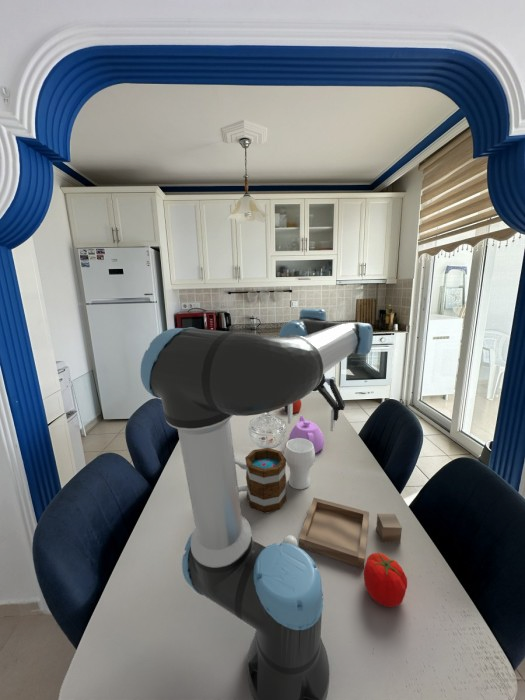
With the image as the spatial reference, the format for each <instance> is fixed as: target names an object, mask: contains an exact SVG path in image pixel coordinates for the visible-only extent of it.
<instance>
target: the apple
mask: <svg viewBox="0 0 525 700" xmlns="http://www.w3.org/2000/svg"><path fill="white" fill-rule="evenodd" d="M301 408H302V401H301V399H300V400H298V401H296V402H294V403H293V414H297V413H300V412H301Z"/></svg>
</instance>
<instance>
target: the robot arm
mask: <svg viewBox="0 0 525 700" xmlns="http://www.w3.org/2000/svg"><path fill="white" fill-rule="evenodd" d="M373 331H374V330H373V326H372V324H370V323H366V322H365V323H364V322H358V321H357V322H346V321H330V320H327V312H326V310H325V309H323V308H304V309H301V310H300V312H299V318H298V319H294V320H290V321H289V322H287V323H285V324H284V325H283V326H282V327H281V328H280V331H279V336H274V335H265V334H263V335H262V334H257V333H256V334H255V333H251V332H250V333H249V332H243V331H242V332H238V331H237V332H236V331H225V330H224V331H223V330H216V329H215V330H214V329H213V330H212V329H201V328H197V327H194V326H193V327H192V326H190V327H186V328H185V327H184V328H183V327H181V328H179V327H175V328H170V329H169V328H168V329H167V330H165V331H162V332H160V333H159V334H158V335H156V336H155V337H154V338H153V340H151V342H150V343H149V346H148V348H147V349H146V350H145V352H143V353H144V354H143V357H142V359H141V362H140V363H141V364H140V371H139V372H140V379H141V383H142V385H143V387H144V389H145V390H146V392H148V393H149V394H150V395H151V396H152V397H155V398H158V399H160V400H161V404H162V409H163V413H164V419H165V421H166V423H167V424H168V425H169V426H170V427H171V428H174V429H177V432H178V438H179V443H180V448H181V449H180V450H181V455H182V460H183V464H184V465H183V467H184V470H185V476H186V482H187V488H188V493H189V497H190V498H189V499H190V503H191V510H192V514H193V519H194V525H195V528H194V530H193V531H192V533H191V534H190V536H189V537H188V539H187V541H186V544H185V547H184V551H185V553H184V554H183V555H182V561H181V568H182V575H183V577H184V579H185V581H186V583H187V584H188V585H189V586H190V587H191V589H193V590H194V591H195V592H196V593H197V594H199V595H201V596H204V597H205V598H207V599H209V600H210V601H212V602H213V603H215V604H216V605H218V606H220V608H222V609H224V610H226V611H227V612H229V613H231V614H232V615H234V616H235V617H237V618H238V619H240V620H242V621H243V622H245V624H247V625H249V626H250V627H252V628H253V629H255V633H254V635H253V638H252V640H251V642H250V646H249V651H248V655H247V656H248V657H247V678H248V684H249V689H250V692H251V695H252V697H253V700H326V699H327V696H328V692H329V685H330V663H329V658H328V657H329V656H328V653H327V650H326V646H325V645H324V642H323V639H322V615H323V614H322V613H323V607H324V597H323V596H324V594H323V593H324V592H323V585H322V577H321V574H320V571H319V570H318V566H317V564H316V563H315V561H314V560H313V558H312V557H311V556H310V555H309V554H308V553H307V552H306V550H305V549H303V548H300V547H299V546H298V547H297V546H295V545H293V544H289V543H282V542H281V543H279V544H277V543H272V544H269V545H268V546H264V545H262V544H261V543H259V542H257V541H254V540H253V536H252V528H251V525H250V523H249V521H248V520H247V518H246V517H245V516H243V515H242V511H241V510H242V509H241V501H240V492H239V491H238V487H239V484H238V476H237V469H236V464H235V459H236V458H235V450H234V443H233V436H232V435H233V434H232V427H231V418H233V417H234V416H237V417H239V416H241V417H246V416H256V415H261V414H262V415H263V414H266V413H271V412H273V411H277V410H280V409H283V408H284V412H285V413H287V424H288V425H289V424H291V423H292V422H293V420H294V419H293V414H294V413H293V403H294V402H296V401H298V400H301V399H303V398H305V397H306V396H307V395H309V394H311V393H312V392H318V393H319V394H320V395H321V396H322V397H323V398H324V399H325V401H326V402H327V403H328V405H329V406H330V408H331V410H330V428H329V429H330V432H333V431H334V429H335V425H336V423H335V421H336V422H337V421H338V420H339V414H340V413H339V411H344V410H345V407H346V404H345V402H344V400H343V397H342V395H341V392H340V391H339V388H338V386H337V384H336V378H335V376H332V377H326V376H325V374H326V373H327V372H329V371H330V370H331V369H333V368H334V367H335V366H336V365H338V364H339V363H340V362H342V361H343V360H345V359H346V358H347V357H349V356H350V355H351V354H353V355H354V354H355V355H357V356H358V355H368V354H369V353H370V352H371V350H372V346H373V340H374V339H373V338H374V332H373ZM325 383H326V384H327V385H328V386H329V387H330V390H331V393H332V394H333V396H334V397H333V396H332V395H331V394H330V392H329V391H328V390H327V388H326V386H325V385H324V384H325Z"/></svg>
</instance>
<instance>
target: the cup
mask: <svg viewBox="0 0 525 700" xmlns="http://www.w3.org/2000/svg"><path fill="white" fill-rule="evenodd" d="M284 457H285V459H286V465H287V467H288V469H289V475H288V476H289V478H288V484H289V486H291V487H292V488H293V489H297V490H304V489H307V488H308V487H310V485H311V479H310V470H311V468H312V467H313V465H314V462H315V459H316V453H315V451H314V446H313V444H312V442H310V441H309V440H306V439H302V438H296V439H291V440H289V439H288V440H287V442H286V445H285V448H284Z"/></svg>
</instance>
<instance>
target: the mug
mask: <svg viewBox="0 0 525 700" xmlns="http://www.w3.org/2000/svg"><path fill="white" fill-rule="evenodd" d="M244 460H245V463H244V462H242V461H241V460H239V459H238V458H235V465H238V466H239V468H240V469H242V470H246V473H245V474H246V475H245V480H246V485H242V486H238V491H239V493H240V492H246V499H247V503H248V504H249V505H248V506H249V508H250V509H252V510H255V511H257V512H259V513H263V514H267V513H272V512H275V511H280V510H281V509H282V507H283V505H284V504H285V503H286V502H287V496H286V495H287V494H286V485H287V475H286V465H287V462H286V459H285V454H283V453H282V451H281V450H277V449H273V448H270V447H263V448H258V449H253V450H251V452H249V454H248V455H247V456H245V459H244Z"/></svg>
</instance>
